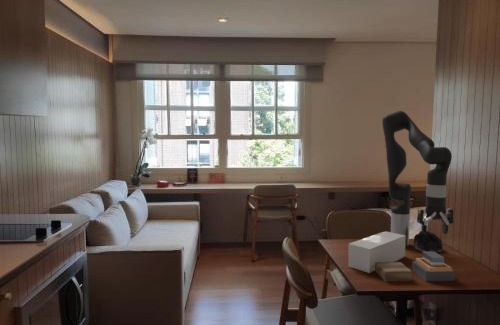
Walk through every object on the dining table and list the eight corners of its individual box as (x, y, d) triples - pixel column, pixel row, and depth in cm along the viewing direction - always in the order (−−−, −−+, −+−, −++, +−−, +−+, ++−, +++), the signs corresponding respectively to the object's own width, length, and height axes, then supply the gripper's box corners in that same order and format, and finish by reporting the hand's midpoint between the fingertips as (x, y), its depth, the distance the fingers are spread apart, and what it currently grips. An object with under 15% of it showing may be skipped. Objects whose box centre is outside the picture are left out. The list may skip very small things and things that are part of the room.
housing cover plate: (432, 262, 153) (432, 257, 153) (422, 256, 161) (422, 251, 161) (444, 262, 153) (444, 257, 153) (434, 256, 161) (434, 251, 161)
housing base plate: (431, 269, 153) (432, 262, 153) (422, 262, 161) (422, 256, 161) (443, 269, 153) (444, 262, 153) (433, 262, 161) (433, 256, 161)
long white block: (369, 273, 161) (369, 249, 160) (348, 266, 169) (348, 243, 168) (404, 257, 182) (405, 235, 181) (384, 251, 190) (385, 231, 189)
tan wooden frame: (412, 270, 163) (412, 258, 163) (438, 269, 164) (439, 257, 163) (425, 281, 151) (426, 268, 151) (454, 280, 152) (455, 267, 151)
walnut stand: (375, 271, 162) (375, 262, 162) (400, 270, 163) (400, 262, 162) (385, 281, 151) (385, 271, 151) (411, 280, 152) (412, 271, 151)
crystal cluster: (445, 256, 184) (447, 236, 184) (415, 251, 188) (417, 232, 187) (439, 250, 197) (441, 231, 196) (411, 246, 201) (413, 227, 200)
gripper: (423, 197, 151) (422, 236, 152) (458, 196, 151) (456, 235, 153) (414, 193, 158) (413, 231, 160) (447, 193, 159) (446, 230, 160)
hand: (434, 233), depth 156 cm, fingers open, 8 cm apart
